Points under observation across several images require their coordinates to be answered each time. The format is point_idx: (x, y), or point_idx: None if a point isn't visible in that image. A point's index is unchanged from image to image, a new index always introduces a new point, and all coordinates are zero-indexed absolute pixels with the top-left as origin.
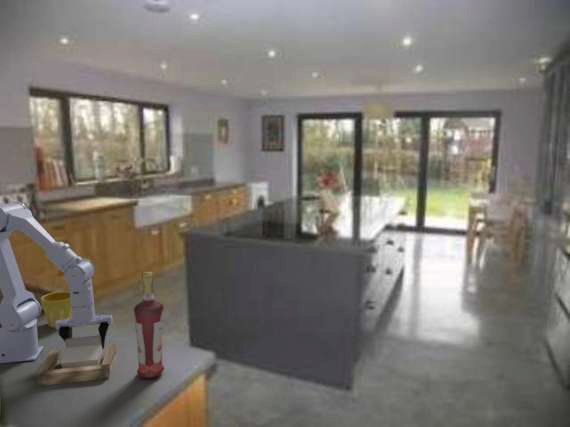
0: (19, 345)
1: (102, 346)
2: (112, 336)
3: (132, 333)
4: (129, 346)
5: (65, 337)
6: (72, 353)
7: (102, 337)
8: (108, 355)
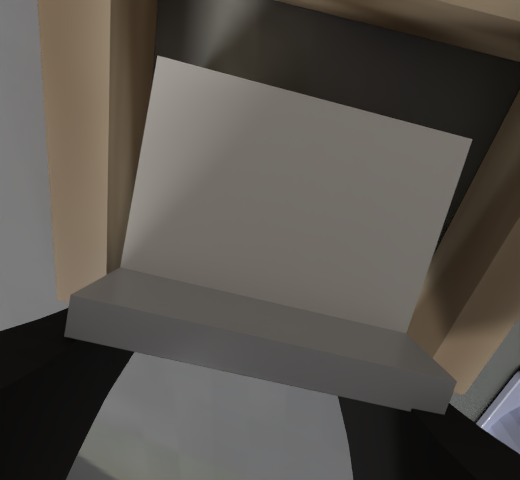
0: None
1: None
2: (142, 433)
3: None
4: (44, 314)
5: (457, 429)
6: (365, 238)
7: None
8: (78, 125)
